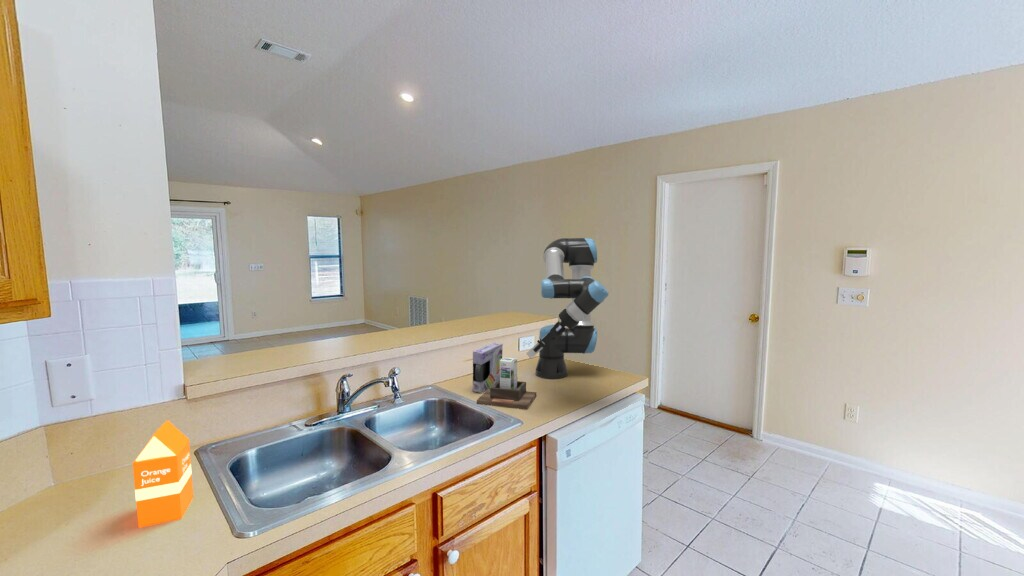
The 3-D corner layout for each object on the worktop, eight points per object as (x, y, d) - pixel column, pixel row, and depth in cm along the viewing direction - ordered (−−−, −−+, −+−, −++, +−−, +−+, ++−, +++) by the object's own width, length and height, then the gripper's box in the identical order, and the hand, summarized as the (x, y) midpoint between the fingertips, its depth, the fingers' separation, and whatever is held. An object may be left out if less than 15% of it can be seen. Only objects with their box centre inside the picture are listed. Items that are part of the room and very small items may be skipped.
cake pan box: (480, 394, 170) (480, 352, 168) (470, 392, 172) (470, 350, 170) (503, 381, 187) (503, 342, 185) (493, 379, 189) (493, 341, 187)
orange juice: (137, 528, 89) (129, 438, 87) (153, 504, 97) (146, 422, 95) (182, 518, 92) (175, 431, 90) (194, 496, 100) (188, 416, 98)
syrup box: (499, 396, 163) (499, 360, 162) (504, 391, 169) (504, 356, 167) (513, 397, 161) (513, 361, 160) (517, 392, 167) (517, 357, 166)
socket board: (490, 391, 174) (489, 378, 173) (536, 395, 168) (536, 382, 167) (476, 403, 159) (476, 389, 159) (527, 409, 154) (527, 395, 153)
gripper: (574, 328, 142) (531, 367, 148) (584, 317, 166) (547, 351, 172) (559, 312, 143) (517, 352, 149) (570, 303, 167) (534, 337, 173)
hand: (533, 351), depth 160 cm, fingers open, 13 cm apart
